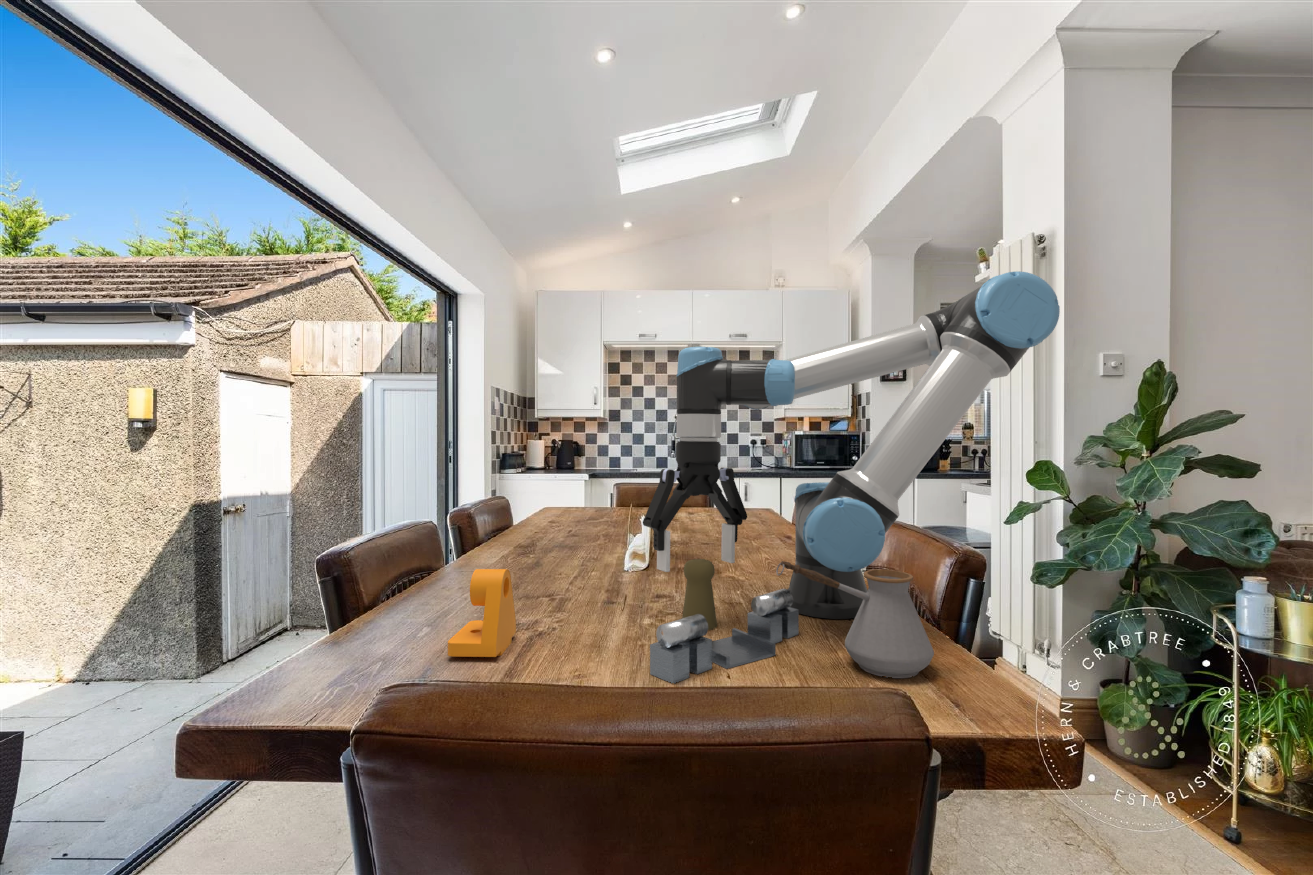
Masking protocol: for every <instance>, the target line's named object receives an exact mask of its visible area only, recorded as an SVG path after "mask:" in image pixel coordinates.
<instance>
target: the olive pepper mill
mask: <svg viewBox="0 0 1313 875" xmlns="http://www.w3.org/2000/svg"><path fill="white" fill-rule="evenodd" d="M715 570H716V569H715V566H714V563H713V562H712V561H711V560H708V559H704V558H694V559H689V560H687V561H686V562H685V564H684V566H683V573H684V574H683V575H684V577H685V578H686V586H685V594H684V601H683V607H682V608H683V609H682V616H681V617H682V618H681V619H683V618H686V617H689V616H693V615H696V614H701V615H703V616H704V617H705V619H706V620H707V623H708V631H711V630H715V629H716V628H717V627H718V622H717V613H716V607H715V598H714V590H713V584H712V579H713V578H714V577H715Z"/></svg>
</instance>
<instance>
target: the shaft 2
mask: <svg viewBox="0 0 1313 875" xmlns="http://www.w3.org/2000/svg"><path fill="white" fill-rule="evenodd" d="M787 589H788V588H780V589H777V590H774V591H771V592H768V593H764V594H760V595H757V596H754V597H753V598H752V599H751V600H750V601H751V602H750V607H751V610H752V611H750V612H747V633H748V634H751V635H753V636H756V637H758V638H761V639H763V640H766V641H768V642H771V643H773V644H777V643H780V642H782V641H783V638H784V639H790V638H793V637H795V636H798V635H799V629H800V628H799V621H800V620H799V617H800V616H799V614H800V613H799V609H795V608H790V606H791V605H792V603H793V596H792V594H791V592H790V591H789V590H787Z"/></svg>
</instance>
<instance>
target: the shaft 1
mask: <svg viewBox="0 0 1313 875" xmlns="http://www.w3.org/2000/svg"><path fill="white" fill-rule="evenodd" d="M708 631H709V630H708V623H707V620H706V619H705V617H704V616H703V615H701V614H696V615H693V616H689V617H686V618H683V619H682V618H680V619H676V620H673V621H670V622H666V623H663V624H659V626H658V627H657V628H656V631H655V634H656V639H657V642H654V643H653V642H652V643H650V644H649V674H650V675H651V676H654V677H655V678H658V679H661V680H663V681H665V682H667V681H668V682H667V683H670V682H671V683H670V684H672V683H674V684H677V683H679V681H680V682H682V681H684V680H686V679H690V673H692V674H695V675H700V674H701V673H704V672H707V671H709V670H712V669H713V662H712V641H713V639H711V638H709V637H707V636H706V635H707V634H708ZM705 636H706V637H705ZM676 682H677V683H676Z"/></svg>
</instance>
